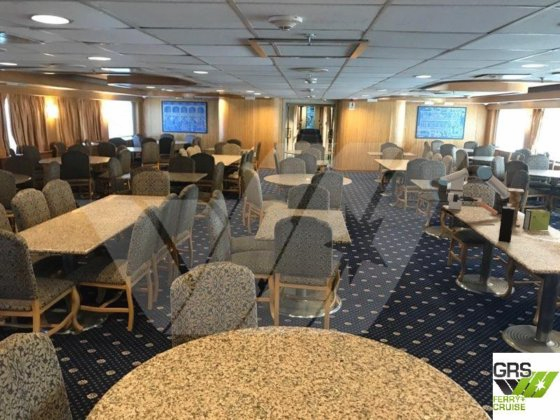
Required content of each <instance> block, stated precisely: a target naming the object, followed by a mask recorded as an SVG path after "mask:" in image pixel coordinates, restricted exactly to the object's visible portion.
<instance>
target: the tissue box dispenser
mask: <svg viewBox="0 0 560 420" xmlns="http://www.w3.org/2000/svg"><path fill="white" fill-rule="evenodd" d="M464 185H465V178H462V179H459V180H456V181H453V182H450V189H449V193H453V194H458V196H463V193H464ZM462 202H463V201H460V200H458V201H457V202H453V201H452V202H449V201H448V208H447V211H448V212H449V211H450V212H458V211H462Z"/></svg>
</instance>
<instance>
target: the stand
mask: <svg viewBox="0 0 560 420" xmlns="http://www.w3.org/2000/svg"><path fill="white" fill-rule="evenodd" d="M507 191H508V192H510V198H509V204H512V205H511V206H510V207H513V208H515V213H514V221H513V228H515V227H516V228H520V227H521V224H520V221H518V214H519V207H520V202H521V200H520V196H521V194H522V195H523V194H525V191H524V189H523V188H513V187H507ZM519 201H520V202H519Z"/></svg>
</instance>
